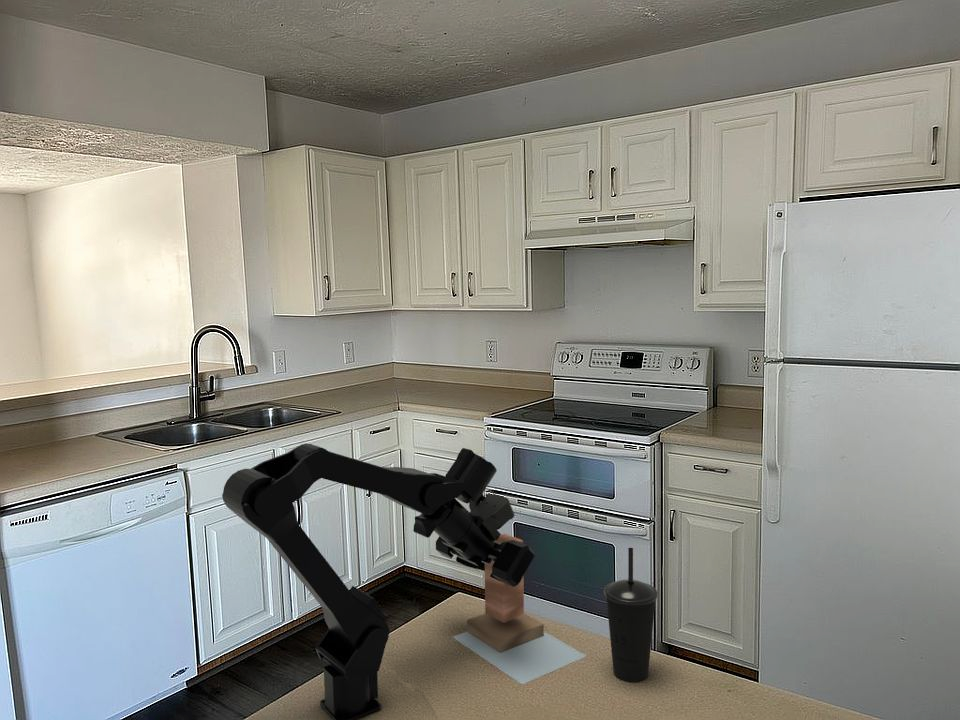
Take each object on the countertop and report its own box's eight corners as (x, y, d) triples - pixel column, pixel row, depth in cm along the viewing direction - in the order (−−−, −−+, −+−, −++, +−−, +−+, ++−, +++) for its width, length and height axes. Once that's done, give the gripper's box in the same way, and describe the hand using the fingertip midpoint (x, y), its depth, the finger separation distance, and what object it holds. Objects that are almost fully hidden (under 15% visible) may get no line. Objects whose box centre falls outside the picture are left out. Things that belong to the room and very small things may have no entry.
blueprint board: (522, 690, 104) (522, 684, 104) (452, 642, 118) (452, 636, 118) (587, 662, 111) (587, 655, 111) (514, 620, 126) (513, 614, 126)
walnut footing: (500, 652, 113) (500, 640, 113) (467, 631, 120) (466, 620, 120) (543, 635, 118) (543, 624, 118) (509, 616, 125) (509, 605, 125)
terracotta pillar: (503, 622, 115) (502, 547, 114) (485, 613, 119) (484, 539, 118) (523, 614, 118) (523, 540, 117) (505, 605, 122) (504, 533, 121)
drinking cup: (612, 661, 111) (612, 536, 109) (662, 672, 108) (662, 543, 106) (597, 686, 105) (597, 553, 103) (650, 699, 101) (651, 561, 99)
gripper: (525, 495, 107) (575, 549, 115) (448, 472, 121) (498, 521, 129) (485, 559, 102) (541, 611, 111) (410, 528, 117) (464, 575, 125)
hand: (510, 576), depth 119 cm, fingers closed on terracotta pillar, 4 cm apart
